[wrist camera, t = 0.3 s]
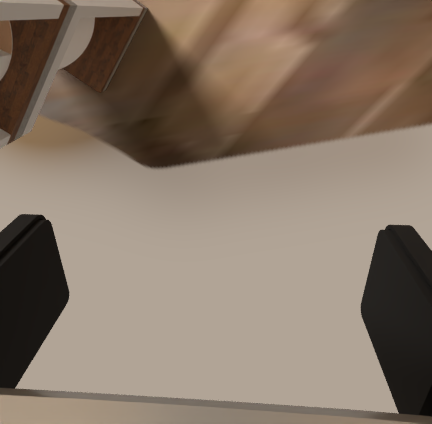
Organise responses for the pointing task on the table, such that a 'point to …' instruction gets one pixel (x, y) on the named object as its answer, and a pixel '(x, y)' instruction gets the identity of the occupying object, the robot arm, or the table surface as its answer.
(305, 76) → the table surface
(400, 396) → the robot arm
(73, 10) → the display case
